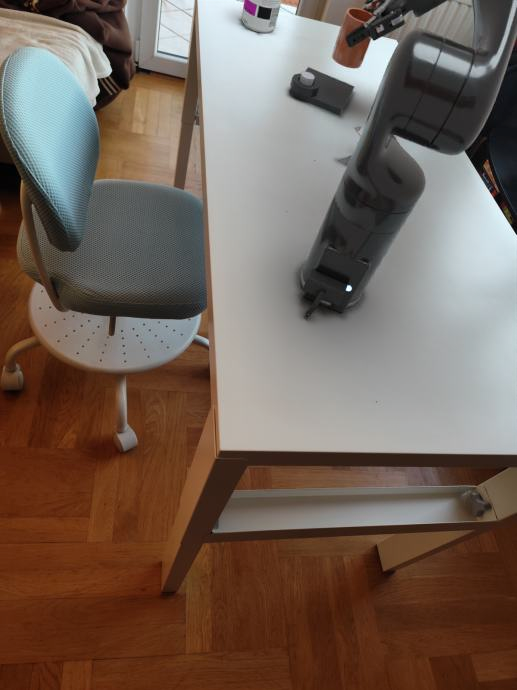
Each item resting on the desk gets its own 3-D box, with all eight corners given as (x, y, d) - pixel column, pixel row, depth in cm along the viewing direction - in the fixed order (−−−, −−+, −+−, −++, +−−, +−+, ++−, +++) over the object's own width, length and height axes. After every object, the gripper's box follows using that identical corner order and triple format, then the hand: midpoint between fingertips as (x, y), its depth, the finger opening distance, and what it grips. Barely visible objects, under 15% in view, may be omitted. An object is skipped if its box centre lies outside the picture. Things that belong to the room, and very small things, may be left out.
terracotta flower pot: (349, 71, 94) (366, 26, 87) (325, 55, 95) (339, 10, 89) (367, 64, 97) (384, 21, 91) (343, 49, 99) (358, 5, 92)
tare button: (310, 88, 98) (312, 80, 97) (297, 82, 98) (299, 75, 97) (313, 82, 100) (316, 75, 99) (301, 77, 100) (303, 69, 99)
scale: (338, 118, 99) (343, 104, 97) (285, 95, 99) (289, 81, 97) (352, 92, 107) (357, 78, 104) (302, 71, 107) (306, 57, 105)
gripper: (447, 18, 83) (355, 69, 91) (436, -13, 91) (353, 37, 99) (434, -28, 78) (338, 31, 86) (424, -56, 86) (337, 0, 94)
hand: (346, 34), depth 92 cm, fingers closed on terracotta flower pot, 6 cm apart
